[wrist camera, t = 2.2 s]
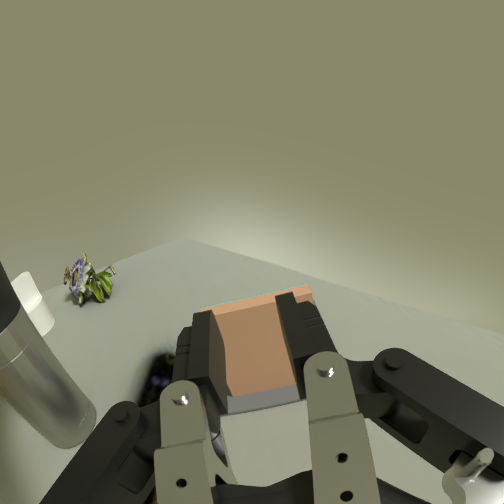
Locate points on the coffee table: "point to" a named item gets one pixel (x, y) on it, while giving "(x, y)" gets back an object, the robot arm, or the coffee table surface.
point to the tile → (255, 341)
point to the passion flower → (88, 280)
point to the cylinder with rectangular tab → (33, 303)
